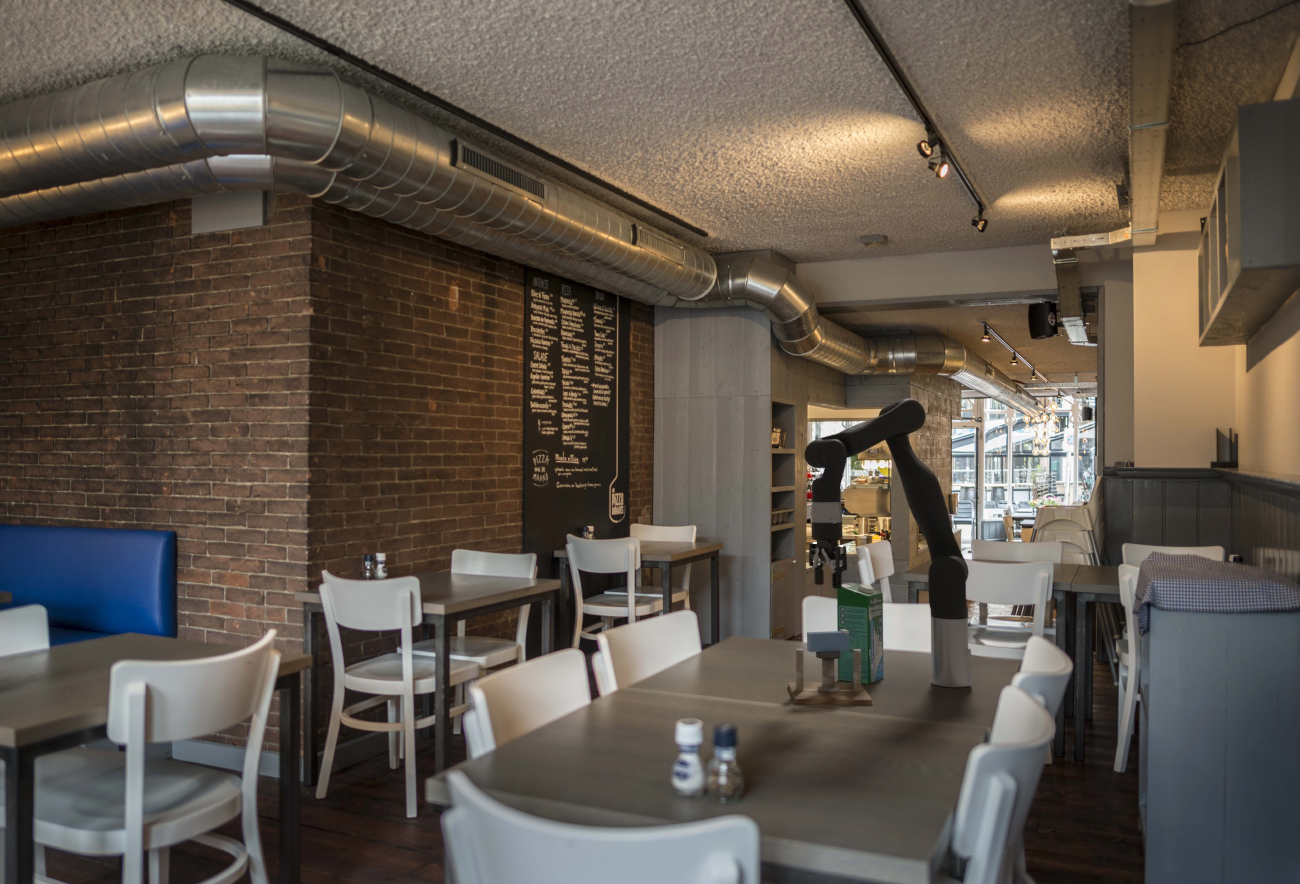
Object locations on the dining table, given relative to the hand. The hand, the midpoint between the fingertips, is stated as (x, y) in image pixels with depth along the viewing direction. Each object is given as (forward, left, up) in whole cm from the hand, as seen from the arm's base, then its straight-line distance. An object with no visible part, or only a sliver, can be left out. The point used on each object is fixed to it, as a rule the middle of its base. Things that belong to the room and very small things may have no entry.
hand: (827, 586), depth 230 cm
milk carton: (-11, -19, -27) cm, 35 cm away
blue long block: (0, 0, -17) cm, 17 cm away
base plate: (0, 0, -27) cm, 27 cm away
